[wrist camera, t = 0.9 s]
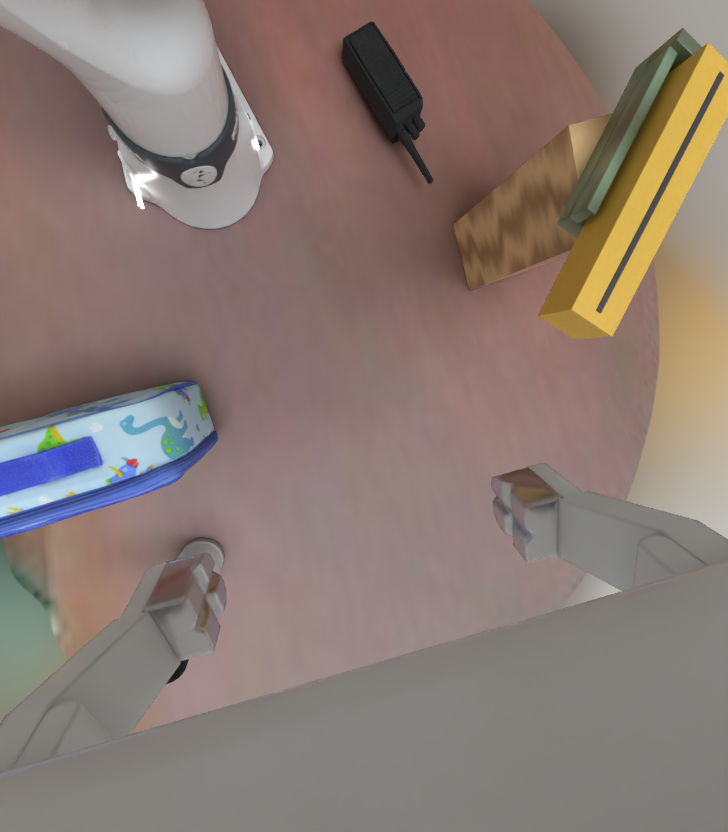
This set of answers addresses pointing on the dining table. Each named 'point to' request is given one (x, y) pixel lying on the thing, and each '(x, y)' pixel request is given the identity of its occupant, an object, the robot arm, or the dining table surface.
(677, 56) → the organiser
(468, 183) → the dining table surface
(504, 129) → the dining table surface
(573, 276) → the pencil case
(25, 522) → the lunch box
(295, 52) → the dining table surface
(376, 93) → the walkie-talkie
